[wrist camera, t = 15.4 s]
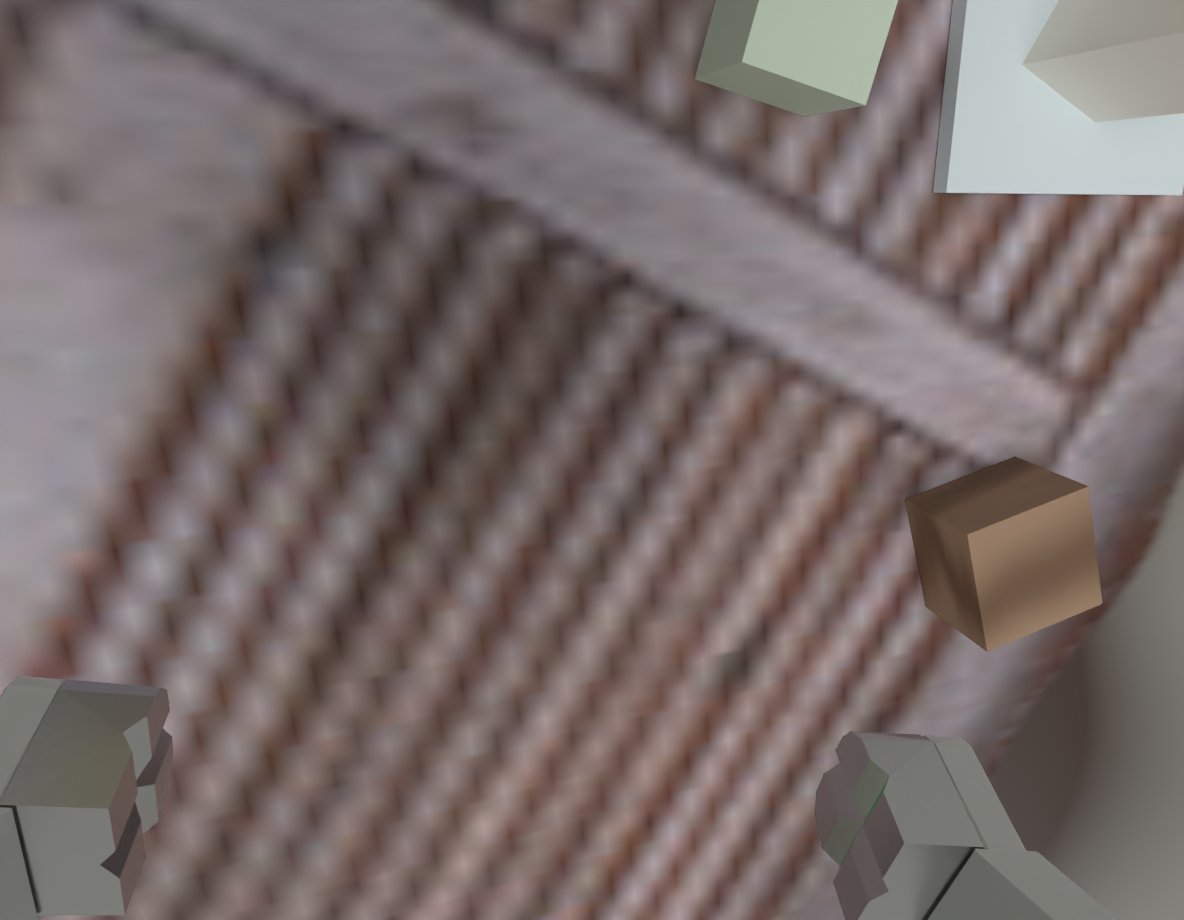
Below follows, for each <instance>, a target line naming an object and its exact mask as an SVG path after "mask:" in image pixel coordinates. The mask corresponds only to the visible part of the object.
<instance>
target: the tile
mask: <svg viewBox="0 0 1184 920" xmlns="http://www.w3.org/2000/svg"><path fill="white" fill-rule="evenodd" d="M1058 1H1059V0H953V4H952V14H951V23H950V33H949V42H948V52H947V62H946V71H945V81H944V90H943V100H942V110H941V119H940V129H939V139H938V148H937V158H936V167H935V177H934V187H933V193H997V194H1092V195H1182V191H1183V186H1184V113H1180V114H1170V115H1160V116H1151V117H1141V118H1131V119H1122V120H1112V121H1102V122H1094V121H1093V120H1091V119H1090V118H1089V117H1088V116H1086V115H1085V114H1084V113H1083V112H1081V111H1080V110H1079V109H1077V108H1076V107H1075V106H1074V105H1072V104H1071V103H1070V102H1069V101H1067V100H1066V99H1065V98H1063V97H1062V96H1061V95H1060V94H1058V93H1057V92H1056V91H1055V90H1053V89H1052V88H1051V87H1050V86H1048V85H1047V84H1046V83H1044V82H1043V81H1042V80H1041V79H1039V78H1038V77H1037V76H1036V75H1034V74H1033V73H1032V72H1030V71H1029V70H1028V69H1027V68H1025V67H1024V66H1023V65H1022V64H1023V62H1024V60H1025V59H1026V57H1027V55H1028V53H1029V52H1030V50H1031V48H1032V46H1033V45H1034V43H1035V41H1036V39H1037V38H1038V36H1039V34H1040V33H1041V31H1042V29H1043V27H1044V26H1045V24H1046V22H1047V20H1048V19H1049V17H1050V15H1051V13H1052V12H1053V10H1054V8H1055V6H1056V5H1057V3H1058Z"/></svg>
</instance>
